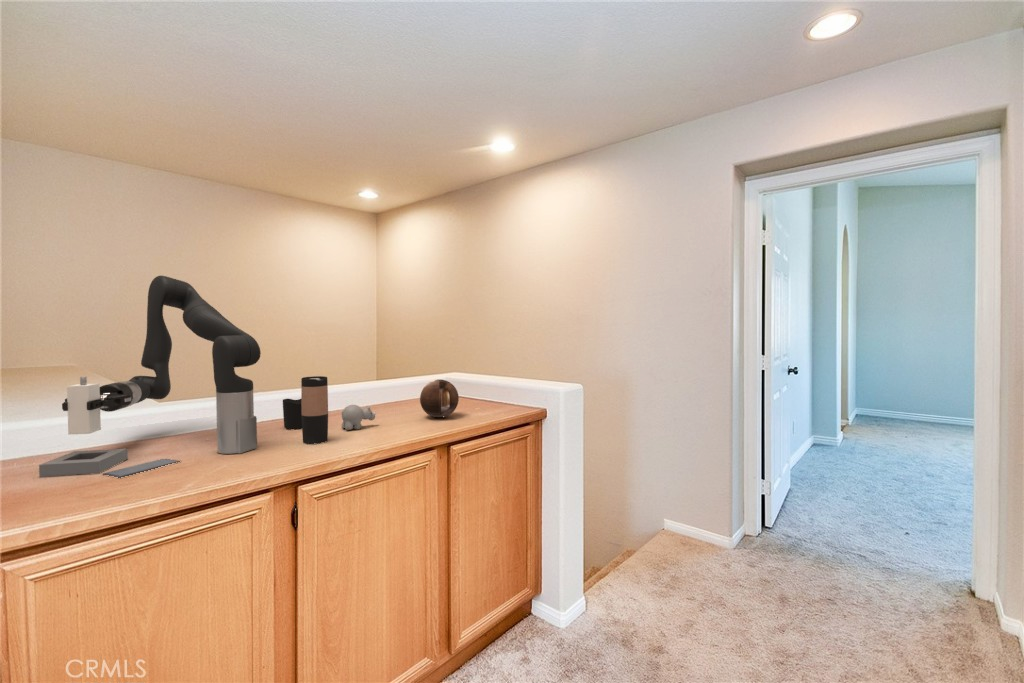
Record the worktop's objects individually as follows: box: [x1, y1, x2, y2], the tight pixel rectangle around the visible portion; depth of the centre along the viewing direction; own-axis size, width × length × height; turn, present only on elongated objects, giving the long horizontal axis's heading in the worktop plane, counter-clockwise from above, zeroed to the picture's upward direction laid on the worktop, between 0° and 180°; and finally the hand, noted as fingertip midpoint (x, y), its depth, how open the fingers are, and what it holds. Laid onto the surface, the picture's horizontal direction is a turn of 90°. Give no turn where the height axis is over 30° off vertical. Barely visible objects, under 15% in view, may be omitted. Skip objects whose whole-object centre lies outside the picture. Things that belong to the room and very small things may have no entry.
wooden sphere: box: [419, 379, 460, 418], centre depth 180 cm, size 15×15×15 cm
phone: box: [102, 458, 181, 479], centre depth 116 cm, size 7×14×1 cm, turn 158°
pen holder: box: [282, 398, 302, 430], centre depth 163 cm, size 9×9×10 cm
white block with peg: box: [66, 376, 102, 436], centre depth 115 cm, size 4×4×14 cm
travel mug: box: [300, 375, 329, 445], centre depth 142 cm, size 8×8×20 cm
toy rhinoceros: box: [341, 404, 377, 431], centre depth 161 cm, size 7×12×8 cm, turn 126°
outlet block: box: [38, 448, 129, 478], centre depth 116 cm, size 12×12×3 cm
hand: (76, 406), depth 113 cm, fingers closed on white block with peg, 4 cm apart
